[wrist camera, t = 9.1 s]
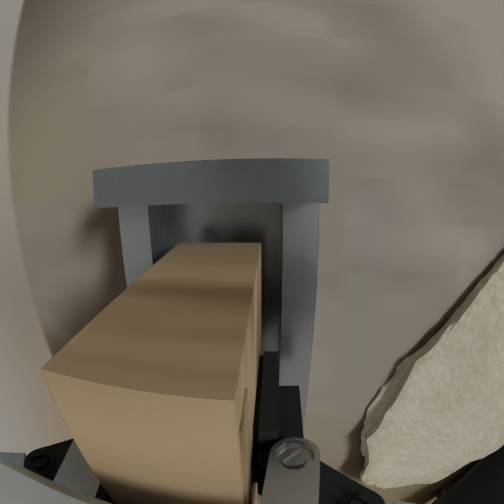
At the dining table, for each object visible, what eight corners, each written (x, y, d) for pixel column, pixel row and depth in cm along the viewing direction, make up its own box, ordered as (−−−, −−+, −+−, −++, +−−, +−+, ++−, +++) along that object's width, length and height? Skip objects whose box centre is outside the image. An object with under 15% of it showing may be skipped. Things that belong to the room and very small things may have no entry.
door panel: (178, 243, 11) (38, 368, 4) (262, 242, 11) (238, 400, 3) (202, 432, 14) (167, 565, 6) (262, 436, 14) (251, 576, 6)
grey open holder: (149, 167, 13) (92, 170, 8) (308, 162, 13) (328, 159, 8) (184, 433, 17) (165, 489, 13) (293, 439, 17) (296, 500, 12)
